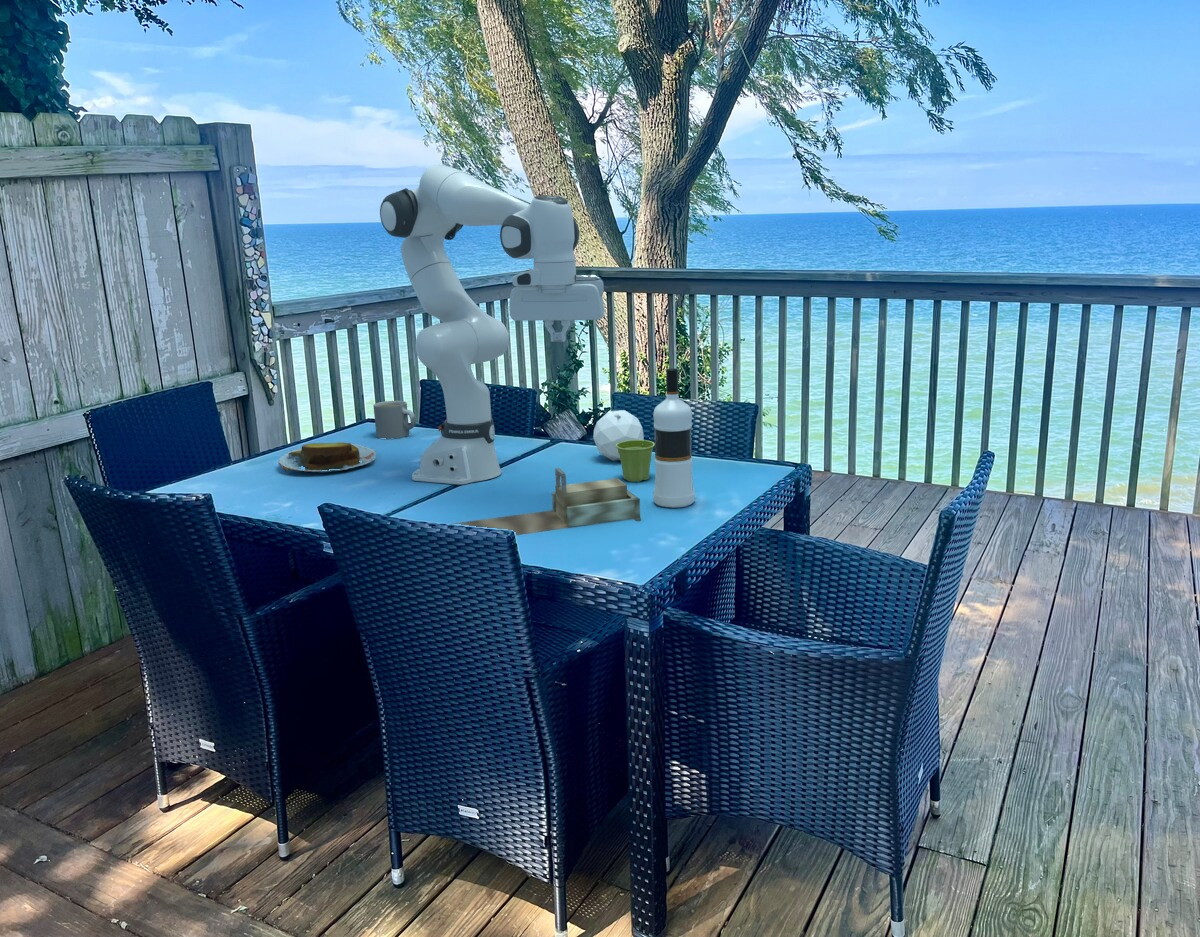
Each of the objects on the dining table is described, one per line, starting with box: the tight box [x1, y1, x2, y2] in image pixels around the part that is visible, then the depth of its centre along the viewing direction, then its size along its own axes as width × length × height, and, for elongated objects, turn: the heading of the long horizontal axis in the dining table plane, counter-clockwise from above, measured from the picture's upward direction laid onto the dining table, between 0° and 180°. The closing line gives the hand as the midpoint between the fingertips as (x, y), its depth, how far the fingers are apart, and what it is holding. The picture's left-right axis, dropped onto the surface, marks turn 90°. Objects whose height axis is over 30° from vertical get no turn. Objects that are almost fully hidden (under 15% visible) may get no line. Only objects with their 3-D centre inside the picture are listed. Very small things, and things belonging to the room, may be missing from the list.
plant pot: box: [616, 439, 655, 483], centre depth 225 cm, size 9×9×9 cm
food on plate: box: [278, 442, 377, 473], centre depth 251 cm, size 26×26×7 cm
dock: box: [453, 489, 642, 536], centre depth 194 cm, size 38×13×5 cm, turn 109°
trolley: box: [554, 467, 628, 523], centre depth 196 cm, size 14×8×10 cm, turn 108°
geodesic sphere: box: [592, 409, 645, 462], centre depth 243 cm, size 14×14×14 cm
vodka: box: [652, 367, 696, 509], centre depth 202 cm, size 9×9×30 cm
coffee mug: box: [372, 400, 417, 440], centre depth 282 cm, size 13×10×10 cm
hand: (558, 341), depth 199 cm, fingers closed
